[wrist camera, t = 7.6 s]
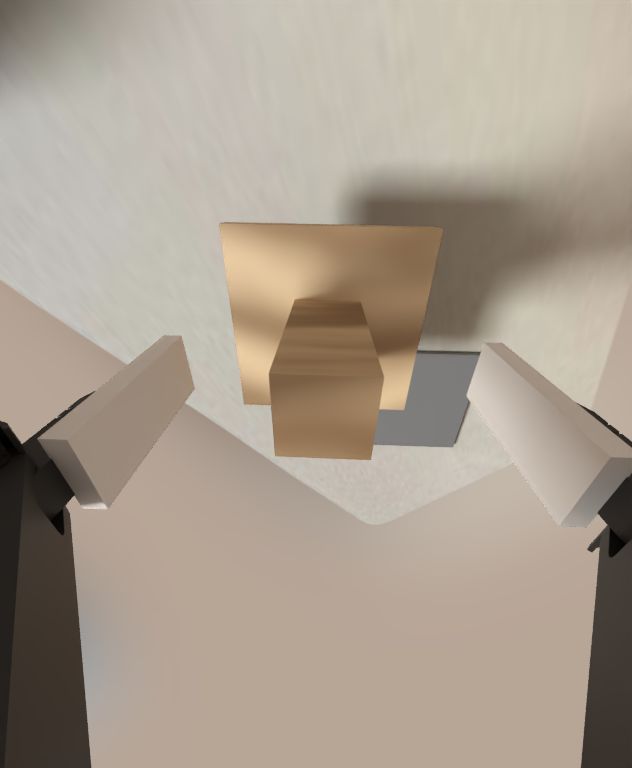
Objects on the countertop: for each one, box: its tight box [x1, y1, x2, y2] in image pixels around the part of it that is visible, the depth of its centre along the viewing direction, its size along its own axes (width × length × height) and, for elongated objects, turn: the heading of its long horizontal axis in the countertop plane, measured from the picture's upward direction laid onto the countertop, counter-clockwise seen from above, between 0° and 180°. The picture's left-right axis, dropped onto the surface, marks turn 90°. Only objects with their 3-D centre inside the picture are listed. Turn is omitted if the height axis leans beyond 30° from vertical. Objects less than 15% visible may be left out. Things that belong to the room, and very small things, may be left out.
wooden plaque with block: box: [219, 222, 444, 460], centre depth 16 cm, size 12×12×10 cm
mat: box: [373, 352, 480, 447], centre depth 32 cm, size 12×12×1 cm
